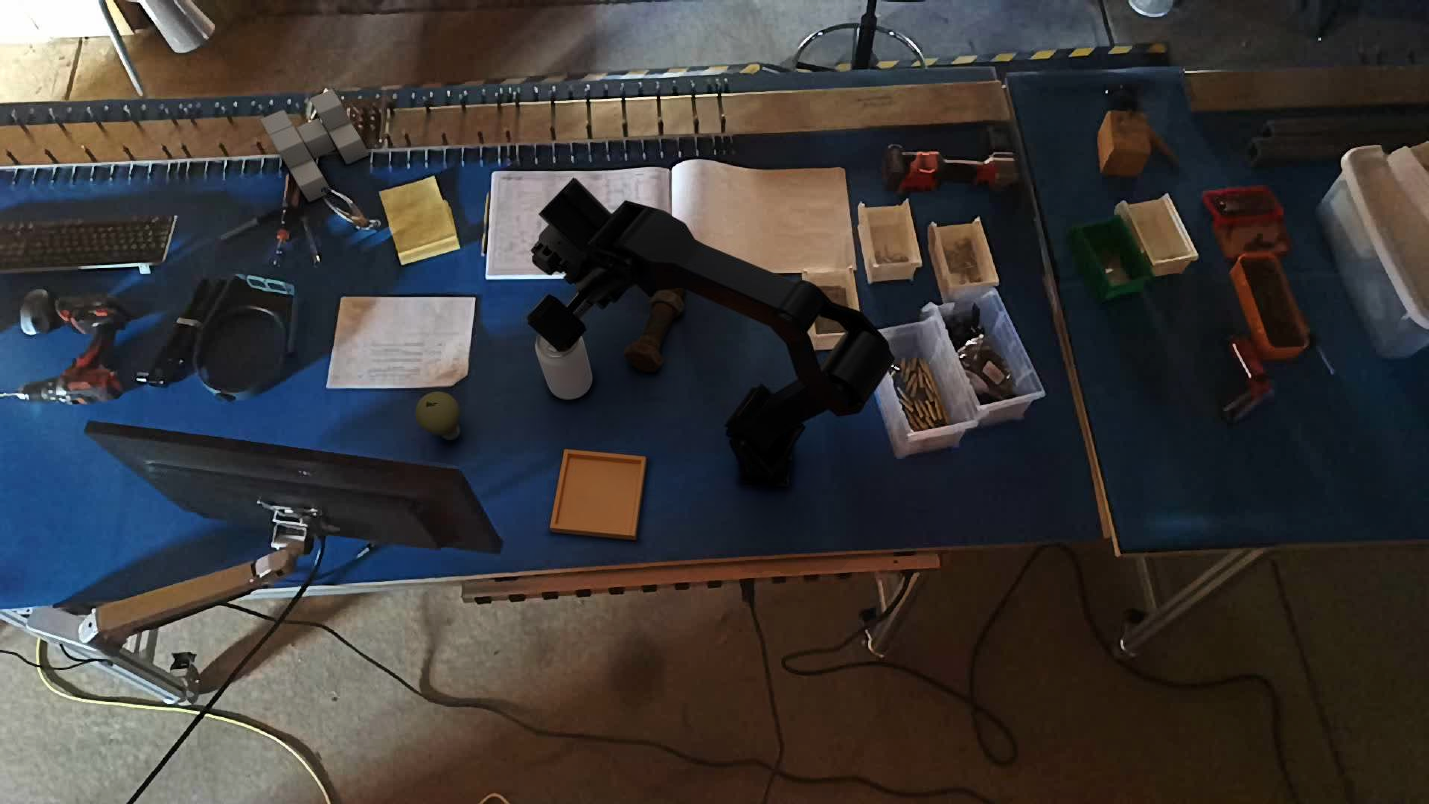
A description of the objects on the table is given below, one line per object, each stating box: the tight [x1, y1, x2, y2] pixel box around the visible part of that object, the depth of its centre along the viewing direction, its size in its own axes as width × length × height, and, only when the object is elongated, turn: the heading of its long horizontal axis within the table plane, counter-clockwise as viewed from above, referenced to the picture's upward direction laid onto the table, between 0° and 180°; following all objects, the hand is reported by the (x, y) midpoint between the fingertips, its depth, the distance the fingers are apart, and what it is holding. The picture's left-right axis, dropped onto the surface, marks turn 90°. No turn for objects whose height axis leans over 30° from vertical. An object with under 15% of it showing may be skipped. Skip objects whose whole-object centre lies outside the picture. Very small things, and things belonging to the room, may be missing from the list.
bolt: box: [623, 288, 686, 372], centre depth 125 cm, size 6×5×15 cm
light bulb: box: [414, 391, 461, 441], centre depth 115 cm, size 6×6×10 cm
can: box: [535, 333, 593, 400], centre depth 118 cm, size 6×6×12 cm
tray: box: [549, 448, 648, 541], centre depth 115 cm, size 11×11×2 cm
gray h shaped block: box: [260, 89, 369, 203], centre depth 137 cm, size 12×12×8 cm
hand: (572, 295), depth 112 cm, fingers open, 9 cm apart
